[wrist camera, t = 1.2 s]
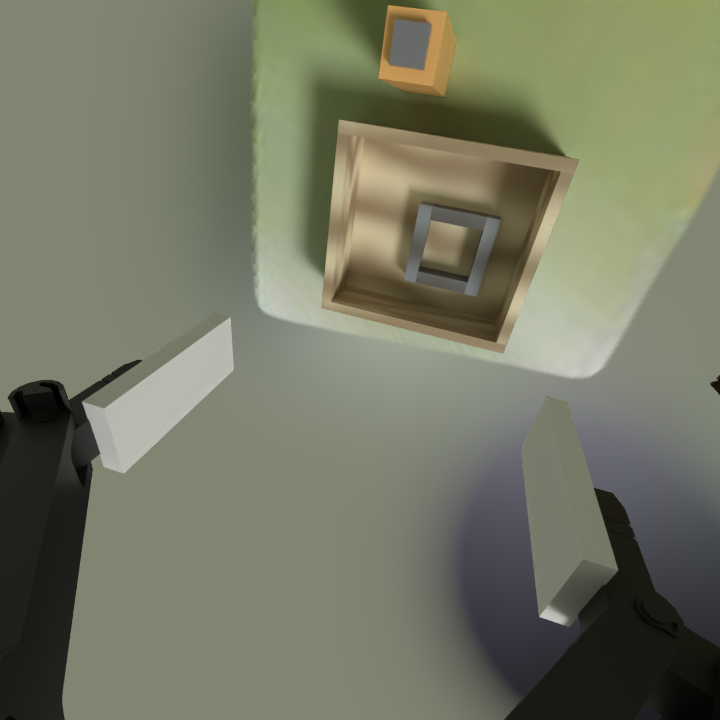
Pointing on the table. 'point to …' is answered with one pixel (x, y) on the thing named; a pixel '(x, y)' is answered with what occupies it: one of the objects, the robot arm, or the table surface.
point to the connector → (417, 50)
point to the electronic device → (716, 384)
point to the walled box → (438, 230)
